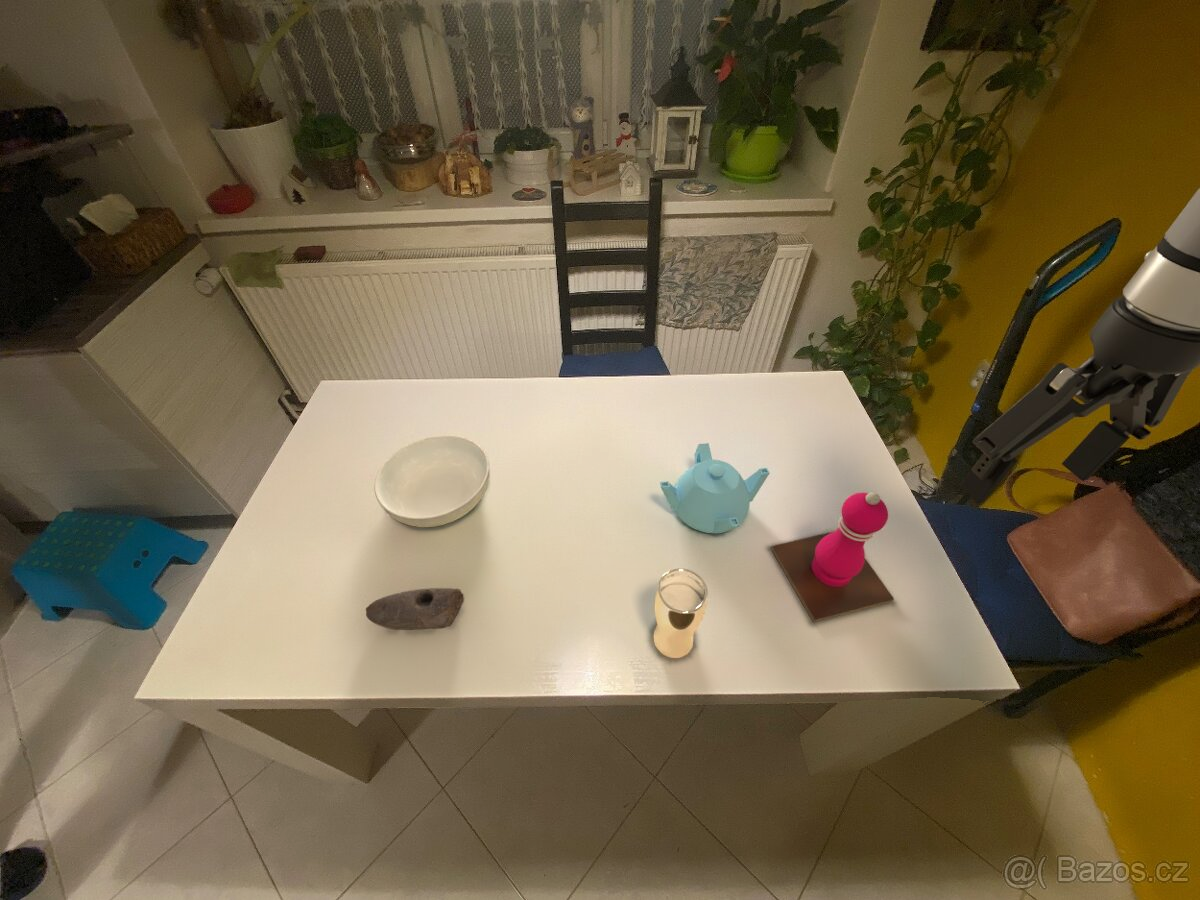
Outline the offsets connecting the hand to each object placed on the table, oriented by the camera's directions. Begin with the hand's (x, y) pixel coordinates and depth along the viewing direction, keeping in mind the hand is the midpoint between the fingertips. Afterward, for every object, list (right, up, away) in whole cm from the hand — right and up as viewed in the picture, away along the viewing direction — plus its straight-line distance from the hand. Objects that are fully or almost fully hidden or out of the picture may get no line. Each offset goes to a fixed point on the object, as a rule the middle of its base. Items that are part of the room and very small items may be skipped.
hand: (1023, 482), depth 56 cm
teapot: (-27, -8, +39) cm, 48 cm away
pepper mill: (-9, -17, +28) cm, 34 cm away
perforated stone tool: (-76, -24, +25) cm, 83 cm away
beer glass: (-36, -25, +22) cm, 49 cm away
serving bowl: (-78, -6, +42) cm, 89 cm away
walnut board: (-9, -17, +29) cm, 35 cm away
